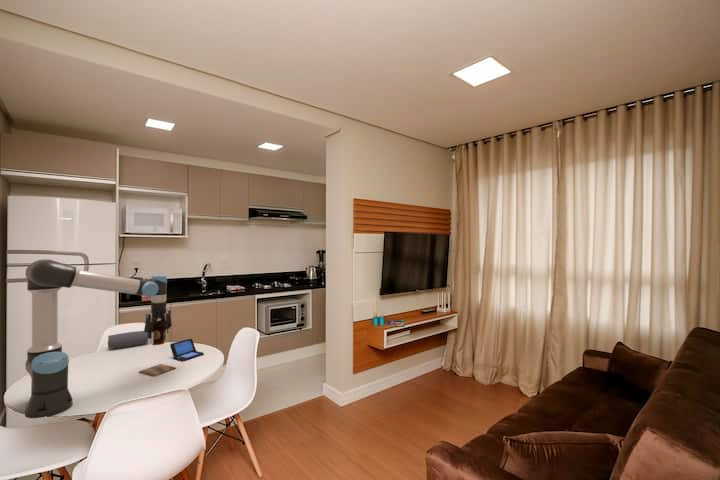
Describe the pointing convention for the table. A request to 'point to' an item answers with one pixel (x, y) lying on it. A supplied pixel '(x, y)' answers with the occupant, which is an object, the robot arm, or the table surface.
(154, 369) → the walnut board
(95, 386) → the table surface
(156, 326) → the coffee cup
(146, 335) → the bluetooth speaker
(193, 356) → the handheld game console
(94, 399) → the table surface
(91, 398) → the table surface
